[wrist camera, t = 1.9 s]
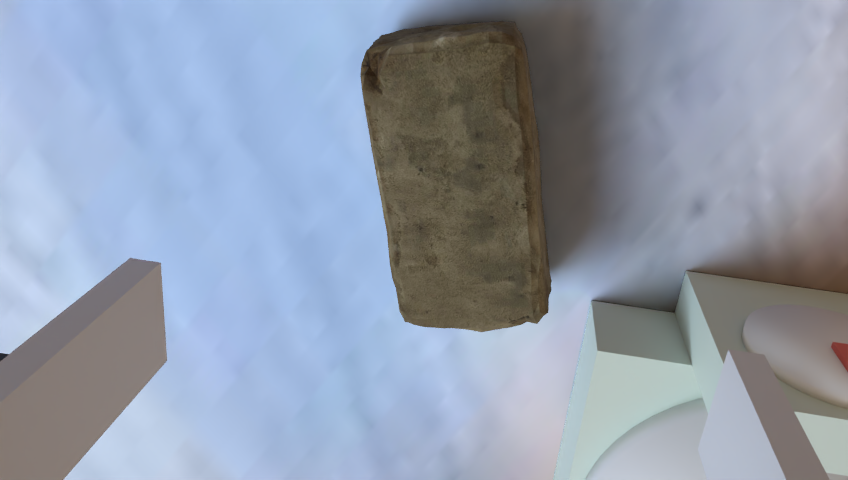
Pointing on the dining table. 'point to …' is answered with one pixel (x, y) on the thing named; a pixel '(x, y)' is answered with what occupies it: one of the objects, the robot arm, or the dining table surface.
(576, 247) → the dining table surface
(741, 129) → the dining table surface
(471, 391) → the dining table surface
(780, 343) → the scale
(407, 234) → the stone block
